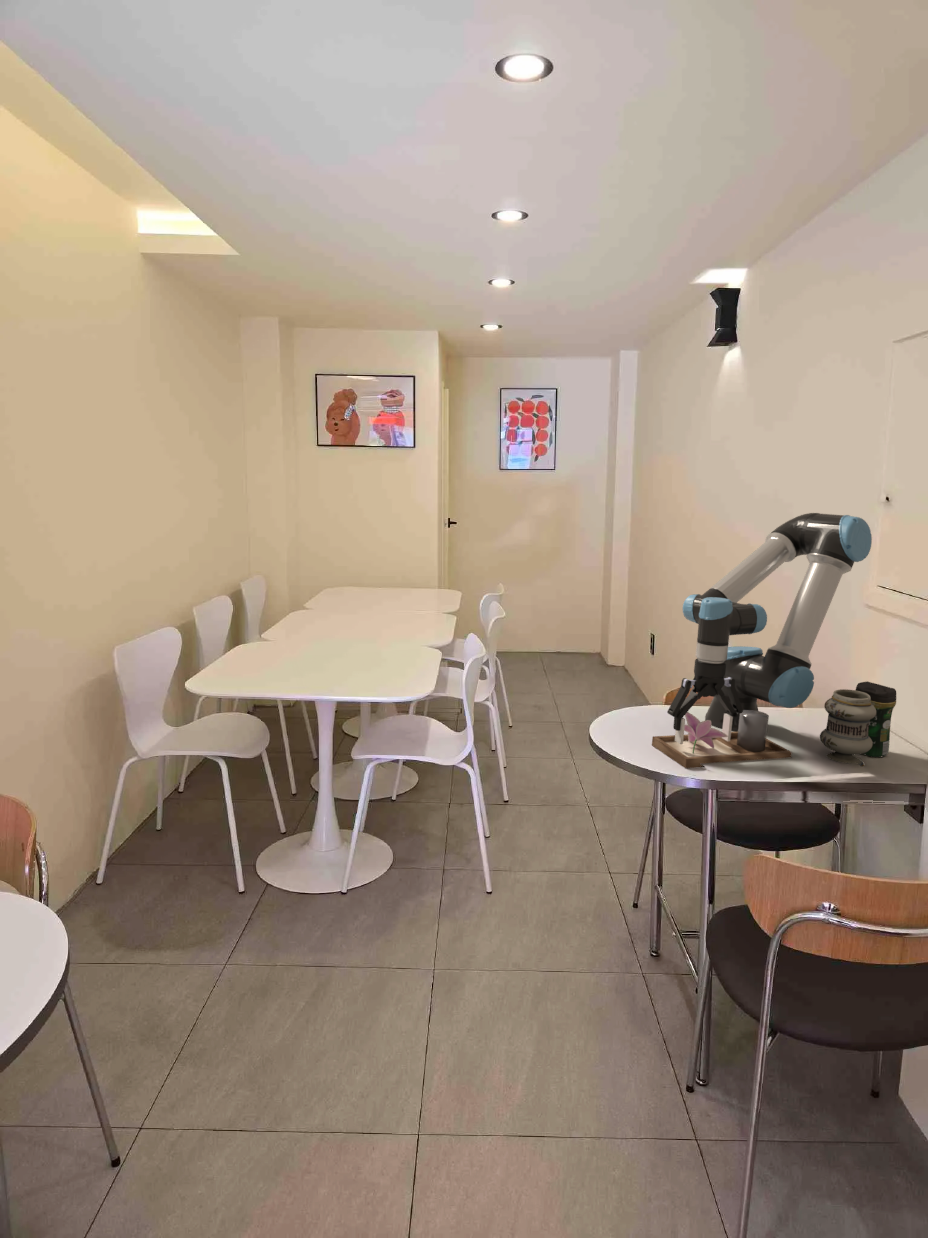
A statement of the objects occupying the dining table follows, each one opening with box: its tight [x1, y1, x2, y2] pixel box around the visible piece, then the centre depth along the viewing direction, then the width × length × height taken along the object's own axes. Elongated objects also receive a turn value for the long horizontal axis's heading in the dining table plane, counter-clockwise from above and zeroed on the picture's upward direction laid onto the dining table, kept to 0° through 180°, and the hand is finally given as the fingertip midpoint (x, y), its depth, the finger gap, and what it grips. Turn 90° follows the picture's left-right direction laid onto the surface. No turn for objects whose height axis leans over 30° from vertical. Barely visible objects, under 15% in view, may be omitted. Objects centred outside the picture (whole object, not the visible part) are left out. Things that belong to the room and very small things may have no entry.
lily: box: [684, 711, 728, 753], centre depth 202 cm, size 12×12×10 cm
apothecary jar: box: [819, 688, 876, 767], centre depth 201 cm, size 12×12×18 cm
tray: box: [651, 731, 793, 769], centre depth 205 cm, size 30×16×2 cm, turn 106°
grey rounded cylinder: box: [737, 710, 769, 752], centre depth 206 cm, size 7×7×9 cm
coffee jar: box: [855, 680, 897, 758], centre depth 209 cm, size 10×8×19 cm
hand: (702, 741), depth 203 cm, fingers open, 13 cm apart
